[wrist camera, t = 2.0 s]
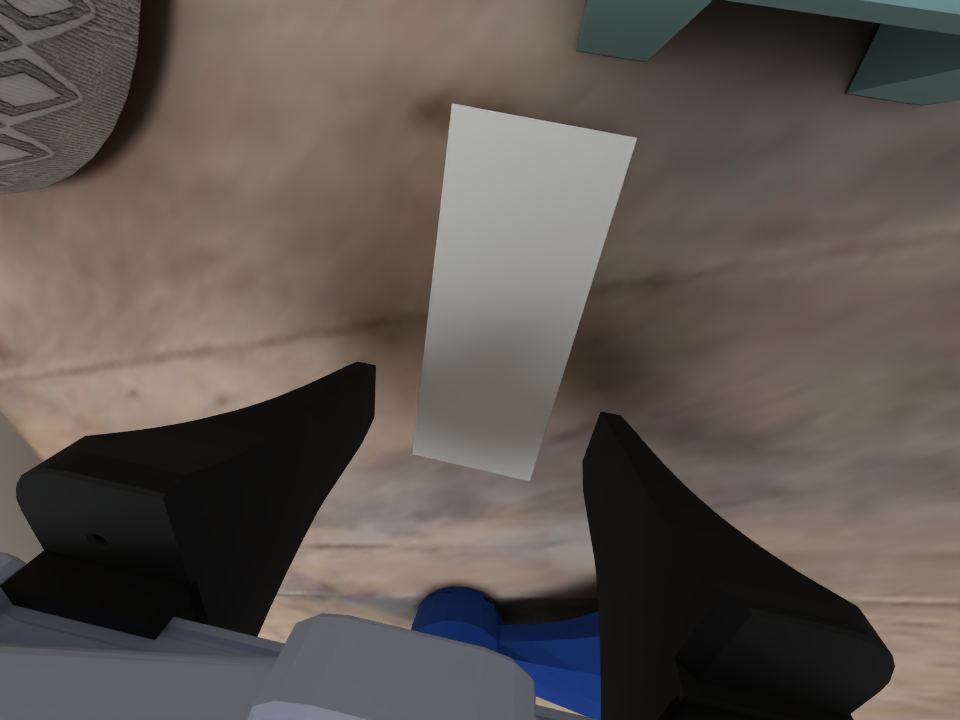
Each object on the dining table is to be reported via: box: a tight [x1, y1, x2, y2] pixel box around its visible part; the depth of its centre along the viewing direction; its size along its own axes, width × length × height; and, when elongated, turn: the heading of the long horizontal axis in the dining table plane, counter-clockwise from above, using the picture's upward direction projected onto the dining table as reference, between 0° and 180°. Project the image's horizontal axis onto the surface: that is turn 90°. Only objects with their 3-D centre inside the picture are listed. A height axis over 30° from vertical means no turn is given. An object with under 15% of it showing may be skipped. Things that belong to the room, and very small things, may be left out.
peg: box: [413, 104, 637, 481], centre depth 12 cm, size 10×4×4 cm, turn 170°
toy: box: [411, 587, 601, 720], centre depth 20 cm, size 7×6×15 cm
